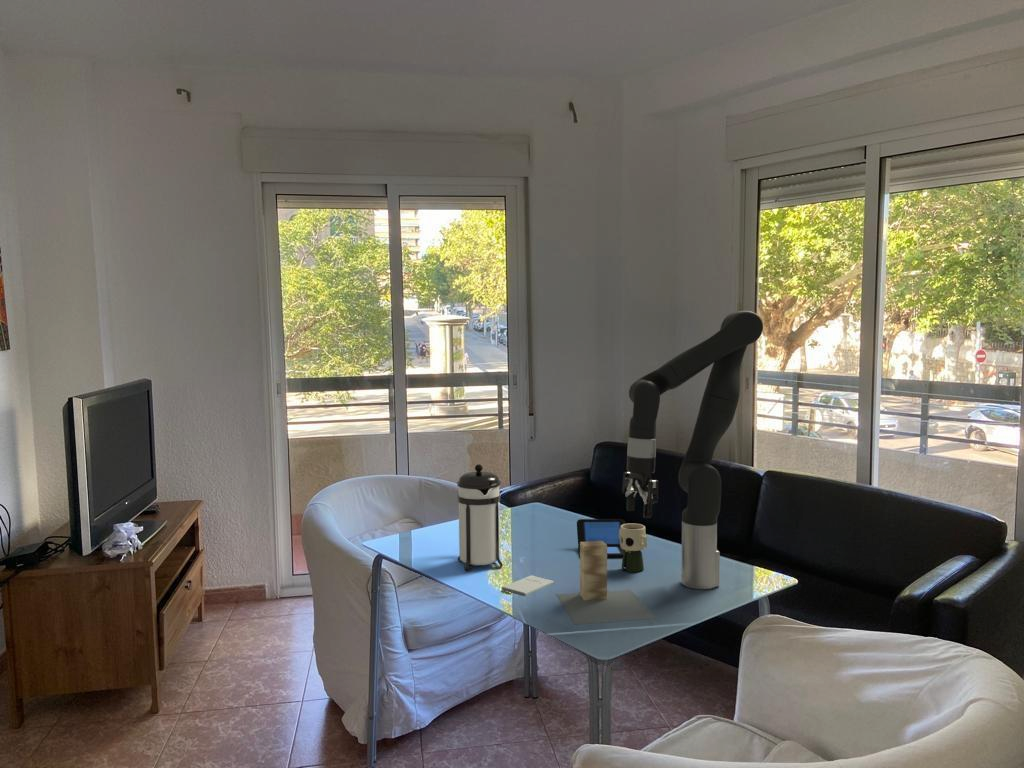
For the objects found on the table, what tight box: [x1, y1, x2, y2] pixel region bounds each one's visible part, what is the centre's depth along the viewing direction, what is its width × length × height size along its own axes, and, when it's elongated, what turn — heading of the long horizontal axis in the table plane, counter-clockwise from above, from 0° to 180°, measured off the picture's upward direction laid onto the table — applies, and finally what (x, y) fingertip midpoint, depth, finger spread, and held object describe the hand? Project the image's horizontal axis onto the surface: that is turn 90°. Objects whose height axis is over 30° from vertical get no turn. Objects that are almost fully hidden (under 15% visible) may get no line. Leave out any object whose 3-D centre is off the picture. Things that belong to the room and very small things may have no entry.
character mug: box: [619, 523, 648, 573], centre depth 212 cm, size 11×7×13 cm, turn 35°
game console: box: [576, 518, 626, 559], centre depth 231 cm, size 16×14×9 cm
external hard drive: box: [501, 575, 555, 596], centre depth 200 cm, size 2×8×12 cm
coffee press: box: [456, 463, 504, 572], centre depth 219 cm, size 17×16×30 cm
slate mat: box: [556, 589, 658, 625], centre depth 184 cm, size 20×20×1 cm
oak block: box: [579, 541, 608, 600], centre depth 190 cm, size 6×4×14 cm
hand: (638, 514), depth 200 cm, fingers open, 8 cm apart
